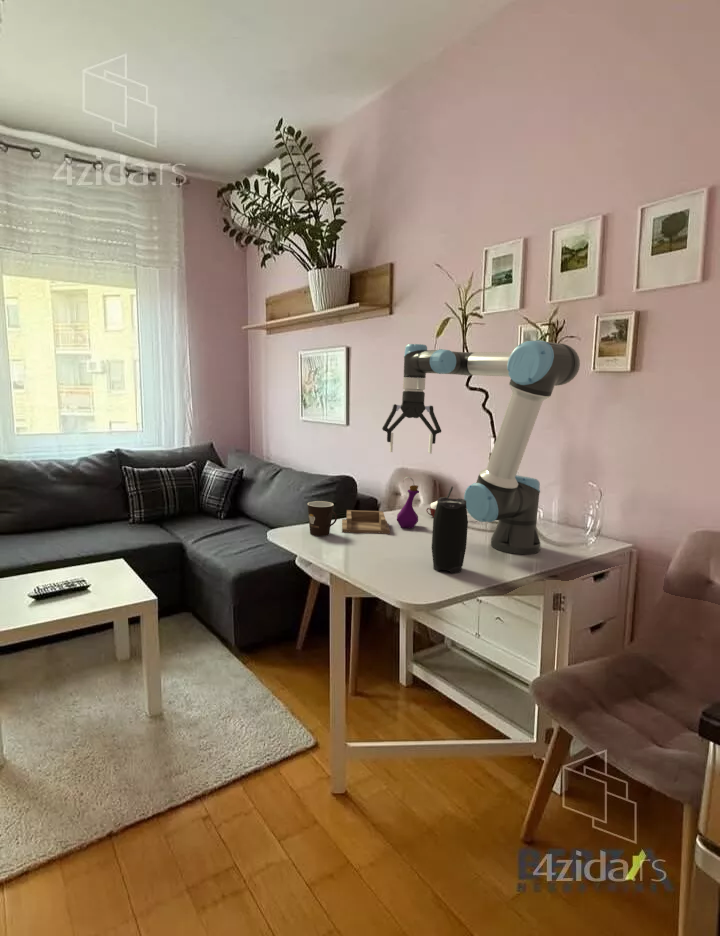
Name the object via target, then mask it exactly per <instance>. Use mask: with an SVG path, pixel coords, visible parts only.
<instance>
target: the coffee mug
mask: <svg viewBox="0 0 720 936" xmlns="http://www.w3.org/2000/svg"><path fill="white" fill-rule="evenodd" d="M307 515H308V525H309V534H310V535H311V536H313V535H314V537H327V536H329V535H330V532H331V527H332V526H334V524H335V523H336V522H337V519H338V515H337V513H336V512H335V511H334V503H333V502H330V501H324V500H323V501H322V500H321V501H320V500H317V501H315V500H314V501H309V502H307ZM333 515H334V517H335V518H334V520H333V519H332V518H333ZM332 521H333V522H332ZM326 535H327V536H326Z"/></svg>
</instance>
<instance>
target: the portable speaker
mask: <svg viewBox="0 0 720 936" xmlns="http://www.w3.org/2000/svg"><path fill="white" fill-rule="evenodd" d="M437 501H438V503H437V506H436V510H435V514H434V517H433V519H432V532H431V533H432V534H431V535H432V536H431V553H432V555H431V556H432V563H433V565H432V566H433V567H432V569H433V570H435V571H436V572H440V571H441V570H442V571H449V572H450V574H459V573H460V572H461V571H462V568H463V566H464V560H465V554H466V550H467V542H468V527H469V520H468V518H469V517H468V511H467V507H466V500H464V498H459V497H458V498H447V496H446V497H444V496H443V497H442V496H441V497H439V498H437Z"/></svg>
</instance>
